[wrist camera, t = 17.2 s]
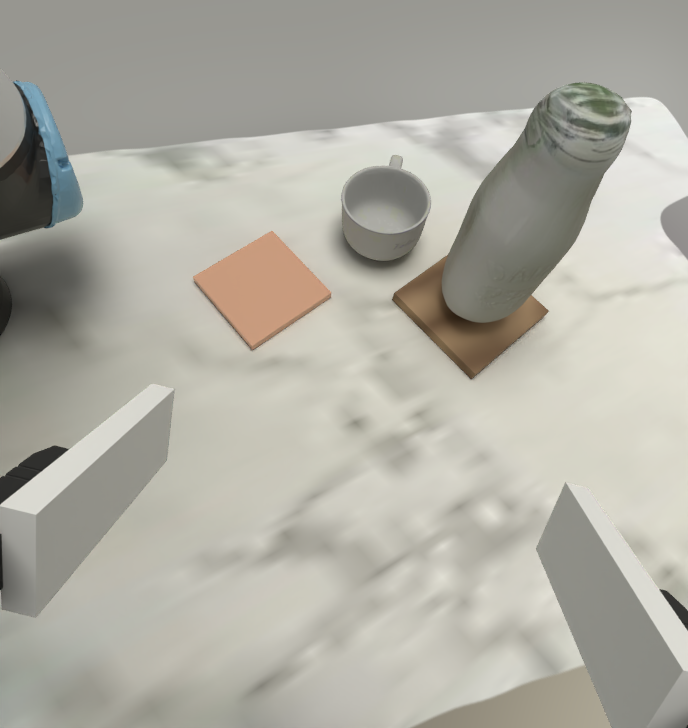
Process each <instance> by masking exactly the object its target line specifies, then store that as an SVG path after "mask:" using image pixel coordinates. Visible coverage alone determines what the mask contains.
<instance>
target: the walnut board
mask: <svg viewBox="0 0 688 728" xmlns="http://www.w3.org/2000/svg"><path fill="white" fill-rule="evenodd" d="M447 257H448V255H447V256H446V257H444V258H443V259H441V260H440V261H439V262H437V263H436V264H434V265H433V266H432V267H430V268H429V269H427V270H426V271H425V272H423V273H422V274H420V275H419V276H418V277H416V278H415V279H413V280H412V281H411V282H409V283H408V284H406V285H405V286H404V287H402V288H401V289H399V290H398V291H397V292H395V293H394V296H393V299H392V300H393V301H394V302H395V303H396V304H397V305H398V306H399V307H400V308H401V309H402V310H403V311H404V312H405V313H406V314H407V315H408V316H409V317H410V318H411V319H412V320H413V321H414V322H415V323H416V324H417V325H418V326H419V327H420V328H421V329H422V330H423V331H424V332H425V333H426V334H427V335H428V336H429V337H430V338H431V339H432V340H433V341H434V342H435V343H436V344H437V345H438V346H439V347H440V348H441V349H442V350H443V351H444V352H445V353H446V354H447V355H448V356H449V357H450V358H451V359H452V360H453V361H454V362H455V363H456V364H457V365H458V366H459V367H460V368H461V369H462V370H463V371H464V372H465V373H466V374H467V375H468V376H469V377H470V378H471V379H472V378H473V377H474V376H476V375H477V374H478V373H479V372H480V371H481V370H483V369H484V368H485V367H486V366H487V365H488V364H489V363H491V362H492V361H493V360H494V359H495V358H496V357H498V356H499V355H500V354H501V353H502V352H503V351H505V350H506V349H507V348H508V347H509V346H510V345H512V344H513V343H514V342H515V341H516V340H517V339H518V338H520V337H521V336H522V335H523V334H524V333H525V332H527V331H528V330H529V329H530V328H531V327H532V326H534V325H535V324H536V323H537V322H538V321H539V320H541V319H542V318H543V317H544V316H545V315H546V314H547V313H548V312H549V311H548V310H547V309H546V308H545V307H544V306H543V305H542V304H541V303H539V302H538V301H537V300H536V299H535V298H534V297H533V296H532V295H530V297H529V298H528V299H527V300H526V301H525V303H524V304H523V305H522V306H521V307H520V308H518V309H517V310H516V311H515V312H513V313H512V314H510V315H509V316H507V317H505V318H502V319H500V320H497V321H493V322H486V323H478V322H472V321H469V320H466V319H464V318H462V317H460V316H458V315H456V314H455V313H453V312H452V311H451V310H450V309H449V307H448V306H447V304H446V301H445V299H444V296H443V293H442V275H443V270H444V266H445V262H446V259H447Z"/></svg>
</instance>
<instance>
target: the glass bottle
mask: <svg viewBox="0 0 688 728" xmlns="http://www.w3.org/2000/svg"><path fill="white" fill-rule="evenodd" d="M631 112H632V111H631V110H630V108H629V107H628V106H627V104H626V103H625V101H624V100H623V99H622V97H620V96H619V95H618V94H617V93H615V92H613V91H611V90H609V89H608V88H605V87H603V86H600V85H597V84H592V83H583V82H582V83H573V84H568V85H565V86H562V87H560V88H557V89H555V90H553V91H552V92H550V93H549V94H548V95H546V96H545V97H544V98H543V99H542V100H541V101H540V102H539V103H538V105H537V106H536V107H535V108H534V110H533V112H532V113H531V115H530V117H529V119H528V122H527V125H526V127H525V129H524V131H523V132H522V134H521V135H520V137H519V138H518V140H517V141H516V143H515V144H514V146H513V147H512V148H511V149H510V150H509V151H508V152H507V153H506V154H505V156H504V157H503V158H502V159H501V160H500V161H499V163H498V164H497V165H496V166H495V167H494V169H493V170H492V171H491V172H490V173H489V174H488V176H487V177H486V178H485V179H484V181H483V182H482V183H481V185H480V187H479V188H478V190H477V192H476V193H475V195H474V197H473V199H472V201H471V203H470V206H469V208H468V211H467V213H466V215H465V218H464V220H463V223H462V225H461V228H460V230H459V233H458V235H457V237H456V239H455V241H454V243H453V246H452V248H451V250H450V252H449V254H448V257H447V259H446V262H445V266H444V270H443V275H442V293H443V296H444V299H445V301H446V304H447V306H448V307H449V309H450V310H451V311H452V312H453V313H455V314H456V315H458V316H460V317H462V318H464V319H466V320H469V321H472V322H478V323H486V322H493V321H497V320H500V319H502V318H505V317H507V316H509V315H510V314H512V313H513V312H515V311H516V310H517V309H518V308H520V307H521V306H522V305H523V304H524V303H525V301H526V300H527V299H528V298H529V297H530V295H531V294H532V293H533V292H534V291H535V290H536V288H537V287H538V286H539V285H540V284H541V282H542V281H543V280H544V279H545V278H546V277H547V275H548V274H549V273H550V272H551V271H552V270H553V269H554V268H555V266H556V265H557V264H558V263H559V262H560V260H561V259H562V258H563V257H564V255H565V254H566V253H567V252H568V250H569V249H570V248H571V247H572V245H573V244H574V242H575V241H576V239H577V237H578V235H579V233H580V231H581V229H582V226H583V224H584V222H585V219H586V216H587V213H588V210H589V207H590V204H591V201H592V199H593V197H594V195H595V193H596V191H597V189H598V187H599V184H600V182H601V180H602V178H603V176H604V173H605V172H606V171H607V170H608V168H609V167H610V166H611V165H612V163H613V162H614V161H615V159H616V158H617V156H618V155H619V153H620V152H621V150H622V148H623V145H624V143H625V140H626V137H627V134H628V132H629V128H630V124H631Z"/></svg>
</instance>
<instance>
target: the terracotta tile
mask: <svg viewBox="0 0 688 728" xmlns="http://www.w3.org/2000/svg"><path fill="white" fill-rule="evenodd" d="M193 279H194V282H195V283H196V284H197V285H198V286H199V288H200V289H201V290H202V291H203V292H204V293H205V295H206V296H207V297H208V298H209V299H210V301H211V302H212V303H213V304H214V305H215V306H216V308H217V309H218V310H219V311H220V312H221V314H222V315H223V316H224V317H225V318H226V319H227V321H228V322H229V323H230V324H231V325H232V326H233V328H234V329H235V330H236V331H237V332H238V334H239V335H240V336H241V337H242V338H243V339H244V341H245V342H246V343H247V344H248V345H249V346H250V348H251V349H252V350H254V349H255V348H257V347H258V346H259V345H261V344H262V343H264V342H265V341H267V340H268V339H270V338H271V337H273V336H274V335H276V334H277V333H279V332H280V331H282V330H283V329H285V328H286V327H288V326H289V325H291V324H292V323H293V322H295V321H296V320H298V319H299V318H301V317H302V316H304V315H305V314H307V313H308V312H310V311H311V310H313V309H314V308H316V307H317V306H319V305H320V304H322V303H323V302H325V301H326V300H328V299H329V298H330V297H331V292H330V291H329V290H328V289H327V288H326V287H325V286H324V285H323V284H322V283H321V281H320V280H319V279H318V278H317V277H316V276H315V275H314V274H313V273H312V272H311V271H310V270H309V269H308V268H307V267H306V266H305V265H304V264H303V263H302V261H301V260H300V259H299V258H298V257H297V256H296V255H295V254H294V253H293V252H292V251H291V250H290V249H289V248H288V247H287V246H286V245H285V244H284V243H283V242H282V240H281V239H280V238H279V237H278V236H277V235H276V234H275V233H274V232H273V231H271V232H269V233H267V234H266V235H264V236H262V237H260V238H259V239H257V240H255V241H254V242H252V243H250V244H248V245H247V246H245V247H243V248H242V249H240V250H238V251H236V252H235V253H233V254H231V255H230V256H228V257H226V258H224V259H223V260H221V261H219V262H218V263H216V264H214V265H212V266H211V267H209V268H207V269H206V270H204V271H202V272H200V273H199V274H197V275H195V276H194V277H193Z"/></svg>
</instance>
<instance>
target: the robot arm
mask: <svg viewBox="0 0 688 728" xmlns="http://www.w3.org/2000/svg"><path fill="white" fill-rule="evenodd" d="M82 208H83V198H82V194H81V191H80V187H79V184H78V182H77V179H76V176H75V173H74V171H73V168H72V165H71V163H70V161H69V159H68V155H67V152H66V150H65V146H64V144H63V141H62V138H61V136H60V133H59V131H58V128H57V126H56V123H55V121H54V119H53V116H52V114H51V111H50V109H49V107H48V104H47V102H46V100H45V98H44V96H43V94H42V92H41V90H40V89H39V88H38V86H36V85H35V84H32V83H30V82H20V81H16V82H12V81H11V80H10V78H9V77H8V76H7V75H6V73H4V72H3V71H2V70H1V69H0V240H1V239H5V238H8V237H12V236H15V235H18V234H22V233H25V232H29V231H33V230H36V229H40V228H50V227H53V226H54V225H55V224H56V223H59V222H62V221H64V220H67V219H70V218H73V217H75V216H77V215H78V214H79V213H80V212H81V210H82ZM10 312H11V295H10V291H9V289H8V287H7V285H6V283H5V281H4V280H3V279H2V278H1V277H0V335H1V333H2V332H3V330H4V328H5V326H6V324H7V322H8V319H9V316H10ZM174 390H175V389H173V388H169V387H165V386H160V385H156V384H151V385H149V386H148V387H147V388H146V389H144V390H143V391H142V392H141V393H139V394H138V395H137V396H136V397H134V398H133V399H132V400H131V401H129V402H128V403H127V404H126V405H124V406H123V407H122V408H121V409H119V410H118V411H117V412H116V413H114V414H113V415H112V416H110V417H109V418H108V419H107V420H105V421H104V422H103V423H102V424H100V425H99V426H98V427H97V428H95V429H94V430H93V431H92V432H90V433H89V434H88V435H87V436H85V437H84V438H83V439H82V440H80V441H79V442H78V443H77V444H75V445H74V446H73V447H72V448H70V449H66V448H62V447H58V446H52V447H50V448H47V449H44V450H42V451H39V452H37V453H34V454H33V455H31V456H30V457H28V458H27V459H26V460H24V461H23V462H22V463H20V464H19V465H18V467H15V468H13V469H12V470H11V471H9V472H8V473H6V476H5V477H4V476H2V477H1V478H0V590H1V599H2V610H6V611H11V612H15V613H19V614H23V615H27V616H31V617H35V618H36V617H37V616H38V615H39V613H40V612H41V611H42V610H43V609H44V607H45V606H46V605H47V604H48V603H49V601H50V600H51V599H52V598H53V597H54V595H55V594H56V593H57V592H58V591H59V589H60V588H61V587H62V586H63V585H64V583H65V582H66V581H67V580H68V579H69V577H70V576H71V575H72V574H73V573H74V571H75V570H76V569H77V568H78V567H79V565H80V564H81V563H82V562H83V561H84V559H85V558H86V557H87V556H88V555H89V553H90V552H91V551H92V550H93V548H94V547H95V546H96V545H97V544H98V542H99V541H100V540H101V539H102V538H103V536H104V535H105V534H106V533H107V532H108V530H109V529H110V528H111V527H112V526H113V524H114V523H115V522H116V521H117V520H118V518H119V517H120V516H121V515H122V514H123V512H124V511H125V510H126V509H127V508H128V506H129V505H130V504H131V503H132V502H133V500H134V499H135V498H136V497H137V496H138V494H139V493H140V492H141V491H142V490H143V488H144V487H145V486H146V485H147V484H148V482H149V481H150V480H151V479H152V478H153V476H154V475H155V474H156V473H157V472H158V470H159V469H160V468H161V467H162V466H163V464H164V463H165V462H166V461H167V454H168V445H169V436H170V427H171V417H172V408H173V399H174ZM536 550H537V552H538V555H539V557H540V559H541V562H542V564H543V567H544V569H545V571H546V574H547V576H548V578H549V581H550V583H551V585H552V588H553V590H554V593H555V595H556V597H557V600H558V602H559V604H560V607H561V609H562V611H563V614H564V616H565V619H566V621H567V623H568V626H569V628H570V630H571V633H572V635H573V637H574V640H575V642H576V644H577V647H578V649H579V652H580V654H581V656H582V659H583V661H584V663H585V666H586V668H587V670H588V673H589V675H590V677H591V680H592V682H593V684H594V687H595V689H596V692H597V694H598V696H599V699H600V701H601V704H602V706H603V708H604V711H605V713H606V715H607V718H608V720H609V722H610V725H611V727H612V728H688V611H687V609H686V608H685V607H684V606H683V605H681V604H680V603H679V602H678V601H677V600H676V599H675V598H674V597H673V596H672V595H671V594H670V593H668V592H667V591H665V590H661V589H658V587H657V586H656V584H655V583H654V581H653V580H652V579H651V577H650V576H649V574H648V573H647V571H646V570H645V568H644V567H643V566H642V564H641V563H640V561H639V560H638V558H637V557H636V556H635V554H634V553H633V551H632V550H631V548H630V547H629V545H628V544H627V543H626V541H625V540H624V538H623V537H622V535H621V534H620V532H619V531H618V530H617V528H616V527H615V525H614V524H613V522H612V521H611V519H610V518H609V517H608V515H607V514H606V512H605V511H604V509H603V508H602V506H601V505H600V504H599V502H598V501H597V499H596V498H595V496H594V495H593V493H592V492H591V491H590V489H589V488H588V487H584V486H580V485H575V484H571V483H567V482H565V485H564V487H563V489H562V491H561V494H560V496H559V498H558V500H557V503H556V505H555V507H554V509H553V512H552V514H551V516H550V518H549V521H548V523H547V525H546V527H545V530H544V532H543V534H542V536H541V539H540V541H539V543H538V545H537V548H536Z"/></svg>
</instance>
